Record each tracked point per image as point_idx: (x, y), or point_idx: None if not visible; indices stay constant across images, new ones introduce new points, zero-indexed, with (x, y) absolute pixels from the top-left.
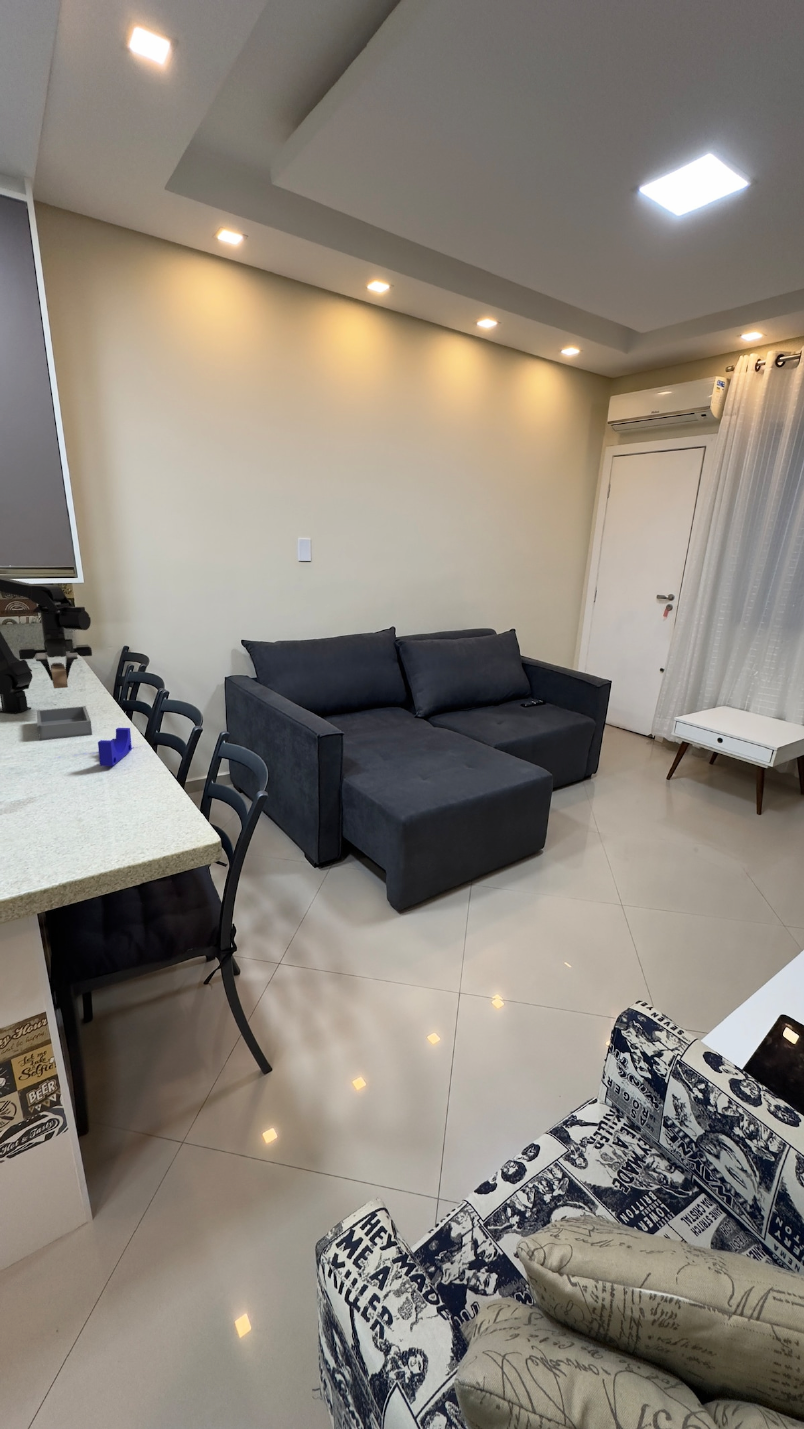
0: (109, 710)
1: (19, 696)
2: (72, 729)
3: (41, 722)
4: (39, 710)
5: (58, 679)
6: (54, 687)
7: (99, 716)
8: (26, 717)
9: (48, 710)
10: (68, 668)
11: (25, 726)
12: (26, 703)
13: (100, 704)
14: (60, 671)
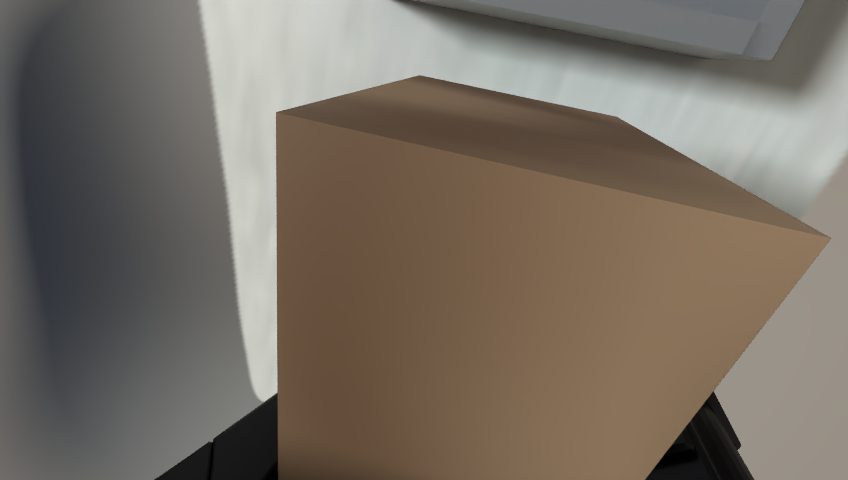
0: (228, 146)
1: (680, 462)
2: None
3: (708, 11)
4: (753, 39)
5: (553, 121)
6: (610, 118)
7: (294, 20)
8: None
9: (674, 9)
10: (225, 464)
11: (823, 25)
12: None
13: (263, 296)
14: (480, 158)
